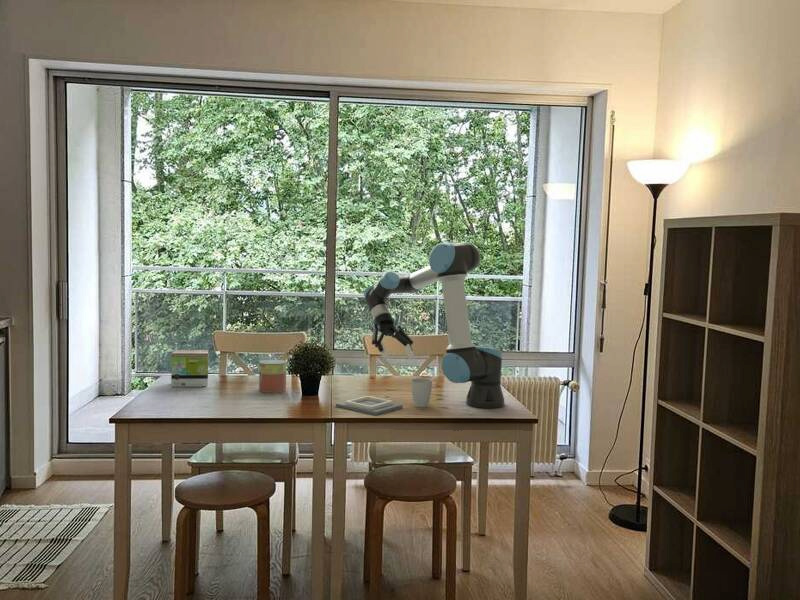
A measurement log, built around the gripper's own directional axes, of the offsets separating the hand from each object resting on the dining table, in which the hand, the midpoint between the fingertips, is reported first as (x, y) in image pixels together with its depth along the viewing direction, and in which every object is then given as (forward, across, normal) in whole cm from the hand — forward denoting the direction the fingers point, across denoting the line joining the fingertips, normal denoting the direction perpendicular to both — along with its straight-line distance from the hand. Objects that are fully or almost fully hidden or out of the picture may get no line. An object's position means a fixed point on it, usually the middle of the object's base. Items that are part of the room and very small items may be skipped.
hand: (399, 358), depth 305 cm
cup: (+24, +1, +2) cm, 25 cm away
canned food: (-12, +37, -41) cm, 56 cm away
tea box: (-28, +62, -61) cm, 92 cm away
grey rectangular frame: (+20, +20, -5) cm, 29 cm away
